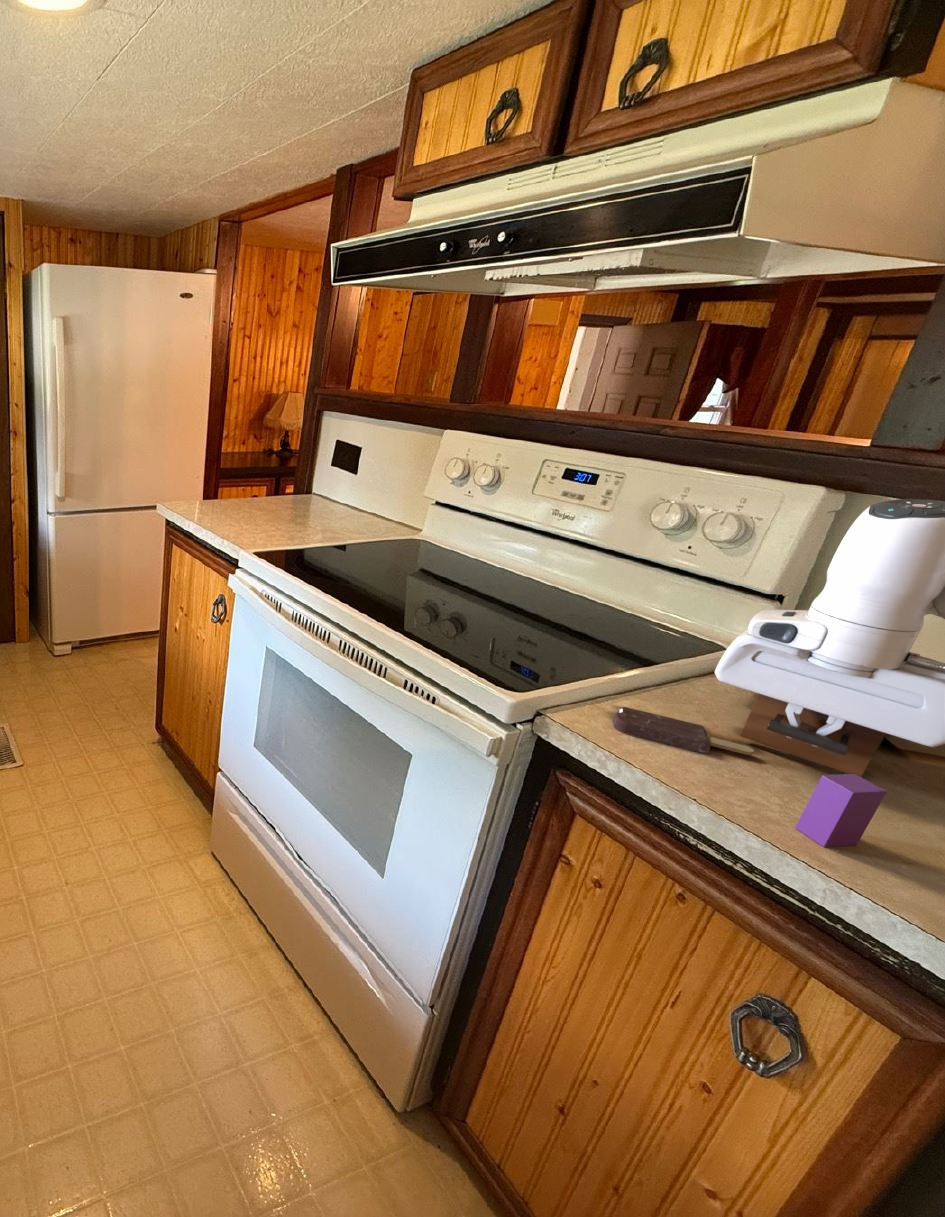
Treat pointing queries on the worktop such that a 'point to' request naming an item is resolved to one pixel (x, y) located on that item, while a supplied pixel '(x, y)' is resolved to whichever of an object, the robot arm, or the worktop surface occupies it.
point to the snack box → (840, 810)
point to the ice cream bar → (671, 731)
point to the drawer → (812, 736)
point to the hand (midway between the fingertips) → (802, 740)
